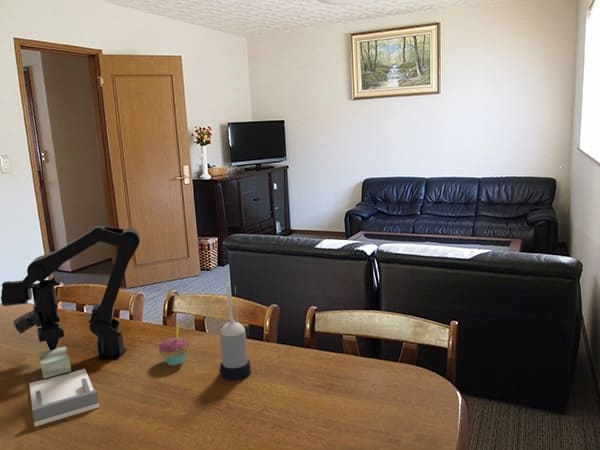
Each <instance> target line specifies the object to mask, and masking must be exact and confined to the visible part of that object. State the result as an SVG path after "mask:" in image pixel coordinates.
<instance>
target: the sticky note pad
mask: <svg viewBox="0 0 600 450" xmlns="http://www.w3.org/2000/svg"><path fill="white" fill-rule="evenodd" d="M38 356H39V361H40V368H41V374H42V378H43V379H48V378H52V377H55V376H59V375H63V374H68V373H71V372H72V368H71V362H70V360H71V359H70V356H69V353H68V350H67V346H61V347H56V349H53V350H50V349H49V350H46V351H41V352H38Z"/></svg>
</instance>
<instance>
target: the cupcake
mask: <svg viewBox="0 0 600 450" xmlns="http://www.w3.org/2000/svg"><path fill="white" fill-rule="evenodd" d="M179 324H180V322H177V324H176V330H175V331H176V333H175V336H174V337H169V338H166V339H164V340H163V341H162V342H161V343H160V344H159V346H158V354H160V355H161V356H163V357H164V359H165V361H166V364H168V365H169V366H178V365H180V364H181V365H182V364H183V363H184V361H185V358H186V354H187V352H188V351H189V349H190V345H191V344H190V342H189V341H188V340H187V339H185V338H183V337H182V336H179V331H180V325H179Z"/></svg>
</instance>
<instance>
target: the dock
mask: <svg viewBox="0 0 600 450" xmlns="http://www.w3.org/2000/svg"><path fill="white" fill-rule="evenodd" d="M28 384H29V393H30V399H31V412H32V417H33V425H34V427H38V426H41V425H45V424H48V423H51V422H55V421H58V420H62V419H65V418H69V417H71V416H75V415H78V414H81V413H85V412H87V411H91V410H94V409H99V408H100V401H99V393H98V391H97V389H94V386H93V384H92V382H91V380H90V377H89V375H88V372H87V371H86V368H83V369H79V370H75V371H70V372H69V373H68V374H66V373H62V374H58V375H54V376H51V377H49V378H48V379H45V378H43V379H41V380H38V381H37V380H36V381H33V382H30V383H28Z"/></svg>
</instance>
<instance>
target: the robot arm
mask: <svg viewBox="0 0 600 450" xmlns="http://www.w3.org/2000/svg"><path fill="white" fill-rule="evenodd" d="M99 242H100V243H105V244H108V245H112V246H114V247H117V248H116V259H115V261H114V265H113V268H112V270H111V273H110V275H109V278H108V283H107V286H106V288H105V290H104V294H103V297H102V299H101V301H100V303H99V304H98V303H96V302H95V303H94V304H93V307H92V309H91V313H90V316H89V319H88V321H87V323H88V324H89V326H88V328H89V331H90V332H91V333H92V334H93V335H95V336H96V337H97V341H96V346H97V347H96V348H97V353H98V356H97V359H98V360H109V359H110V360H118V359H120V358H121V357H122V355H123V354H124V353H126V351H127V349H128V348H127V347H125V343H124V337H123V336H124V335H123V332H120V329H121V321H119V320H118V319H116V318H114V317H113V316H114V309H115V303H116V300H117V297H118V295H119V291H120V289H121V285H122V283H123V280H124V276H125V274H126V271H127V268H128V266H129V263H130V261H131V259H132V258H133V256H134V254H135V252H136V251H137V249H138V247H139V245H140V242H141V234H140V232H139V230H137V229H136V228H134V227H127V228H118V227H111V226H109V227H108V226H104V225H101V224H100V225H95V226H94V227H93V228H92V229H91V230H89V231H87V232H85V233H84V234H82V235H81V236H79V237H78V238H76V239H74V240H72V241H71V242H69V243H68V244H66V245H64V246H63V247H61V248H59V249H57V250H55V251H51V252H48V253H46V254H42V255H40V256H38V257H36V258H35V259H33V260H32V261H31V263H30V264H29V265H28V266H27V269H26V272H27V275H26V276H25V277H24V278H23V280H14V281H12V280H11V281H9V280H8V281H3V282H2V284H1V287H2V288H1V294H0V295H1V296H0V302H1V305H2V306H3V307H11V306H13V307H14V306H19V305H27V304H28V303H29V301H31V300H32V299H33V305H32V307H33V308H32V309H33V310H31V311H29V312H26V313H25V314H22V315H20V316H19V317H17V318H15V319H14V320H13V326H14V327H15V330H16V331H17V332H18V334H23V333H25V332H26V331H27V330H29V329H31V328H33V327H34V326H36V328H37V336H38V341H39V343H43V342H46V344H47V347H48V349H49V350H53V349H57V348H58V344H59V341H60V339H61V338H64V337H65V333H64V328H63V325H61V324H60V322H61V319H60V315H59V306H58V301H57V296H56V293H57V292H56V287H58V286H60V285H61V284H62V282H63V281H62V279H60V278H58V277H57V276H56V275H54V276H52V277H51V279H48V278H49V277H50V276H51V275H52V274H53V273H55V271H57V269H58V268H60V267H61V266H62V265H63V264H65V263H66V262H68V261H69V260H71V259H72V258H74V257H76V256H78V255H79V254H80V253H82V252H84V251H85V250H87V249H89V248H90V247H92V246H94V245H96V244H97V243H99ZM36 282H37V283H36Z"/></svg>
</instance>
